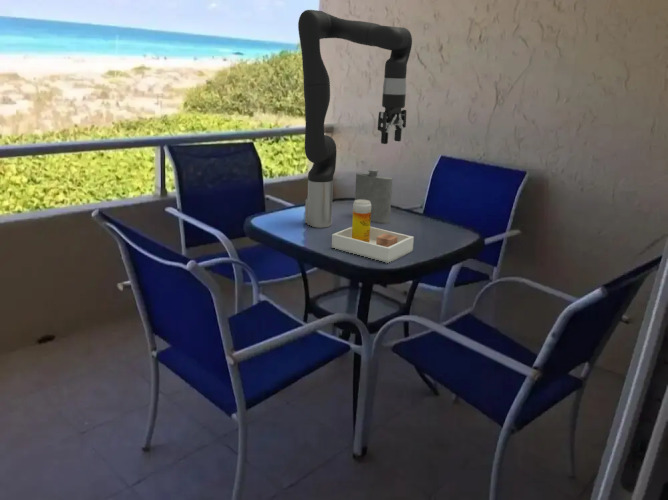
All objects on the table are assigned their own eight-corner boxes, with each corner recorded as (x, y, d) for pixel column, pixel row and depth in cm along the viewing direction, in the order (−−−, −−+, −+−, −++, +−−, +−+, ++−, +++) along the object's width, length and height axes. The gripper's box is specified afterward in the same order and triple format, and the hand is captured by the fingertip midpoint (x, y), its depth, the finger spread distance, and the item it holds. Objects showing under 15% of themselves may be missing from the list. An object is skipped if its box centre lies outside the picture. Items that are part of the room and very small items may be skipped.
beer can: (367, 247, 194) (370, 204, 189) (349, 246, 195) (351, 202, 190) (370, 242, 199) (372, 200, 194) (353, 240, 200) (355, 198, 195)
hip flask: (391, 222, 226) (394, 171, 219) (385, 224, 223) (388, 173, 216) (357, 214, 234) (359, 165, 228) (351, 216, 231) (353, 167, 225)
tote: (331, 248, 194) (332, 234, 193) (358, 237, 207) (359, 223, 205) (387, 263, 182) (388, 248, 181) (412, 251, 194) (413, 236, 193)
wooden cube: (375, 251, 191) (376, 236, 189) (383, 247, 194) (384, 233, 193) (388, 254, 188) (389, 240, 186) (396, 250, 192) (397, 236, 190)
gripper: (392, 94, 182) (389, 146, 187) (414, 92, 193) (411, 141, 198) (372, 92, 186) (370, 143, 191) (395, 90, 197) (392, 138, 202)
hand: (391, 142), depth 195 cm, fingers open, 8 cm apart
